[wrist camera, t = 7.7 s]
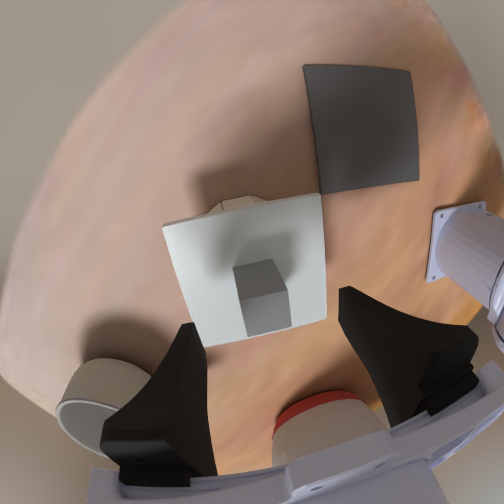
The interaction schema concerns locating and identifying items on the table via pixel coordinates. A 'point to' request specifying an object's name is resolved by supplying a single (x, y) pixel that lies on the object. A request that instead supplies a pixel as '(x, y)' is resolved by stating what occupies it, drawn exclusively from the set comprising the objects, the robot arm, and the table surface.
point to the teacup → (97, 398)
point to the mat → (362, 126)
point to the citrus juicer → (321, 425)
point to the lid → (251, 268)
